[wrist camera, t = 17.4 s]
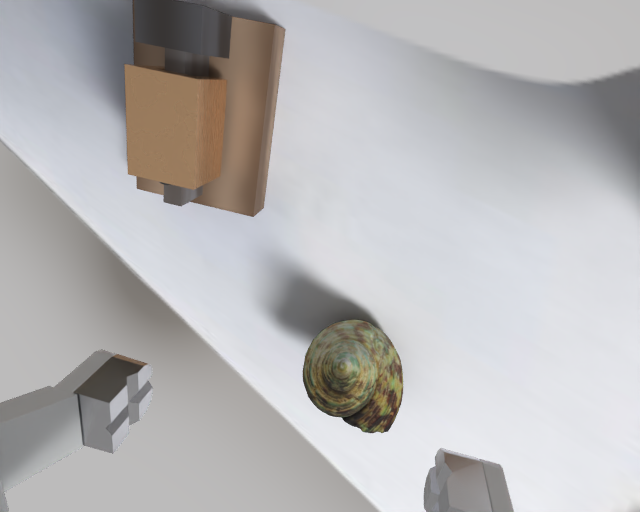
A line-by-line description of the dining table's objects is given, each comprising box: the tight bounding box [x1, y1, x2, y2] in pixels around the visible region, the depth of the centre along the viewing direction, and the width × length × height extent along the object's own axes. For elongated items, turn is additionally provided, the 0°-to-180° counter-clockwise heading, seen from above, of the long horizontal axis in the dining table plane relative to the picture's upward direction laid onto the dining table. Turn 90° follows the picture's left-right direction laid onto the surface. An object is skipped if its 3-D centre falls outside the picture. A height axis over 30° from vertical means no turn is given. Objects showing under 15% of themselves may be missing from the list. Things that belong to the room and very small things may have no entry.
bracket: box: [133, 0, 285, 217], centre depth 34 cm, size 12×16×8 cm
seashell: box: [303, 320, 403, 433], centre depth 40 cm, size 11×11×10 cm
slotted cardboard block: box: [125, 64, 227, 190], centre depth 32 cm, size 6×8×5 cm
